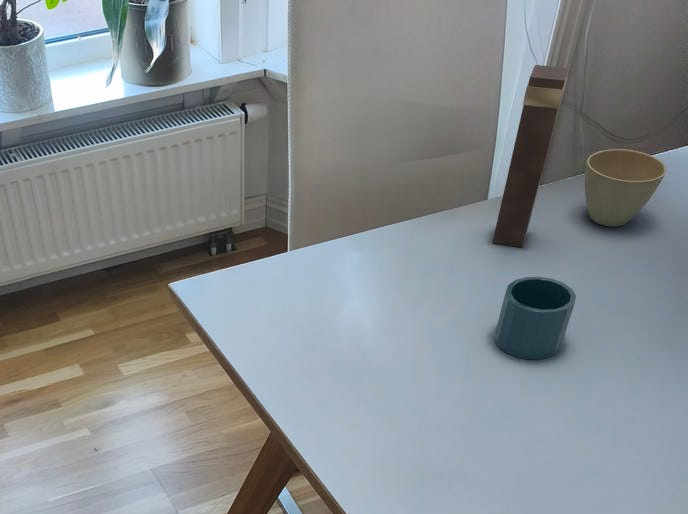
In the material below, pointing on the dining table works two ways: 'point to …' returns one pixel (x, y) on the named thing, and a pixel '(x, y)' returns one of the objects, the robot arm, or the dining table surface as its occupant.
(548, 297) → the holder
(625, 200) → the flower pot
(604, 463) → the dining table surface
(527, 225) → the dark brown long bar
